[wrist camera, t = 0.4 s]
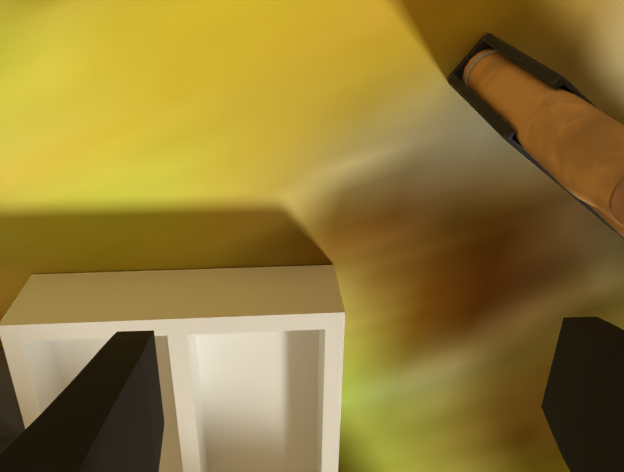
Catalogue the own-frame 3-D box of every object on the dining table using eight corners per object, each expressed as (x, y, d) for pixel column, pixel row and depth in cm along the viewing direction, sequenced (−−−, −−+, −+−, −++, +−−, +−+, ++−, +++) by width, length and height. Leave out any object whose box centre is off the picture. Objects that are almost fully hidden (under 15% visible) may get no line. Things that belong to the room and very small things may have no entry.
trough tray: (325, 516, 27) (333, 580, 24) (90, 532, 26) (71, 600, 23) (333, 264, 21) (345, 312, 18) (31, 274, 20) (-3, 325, 17)
